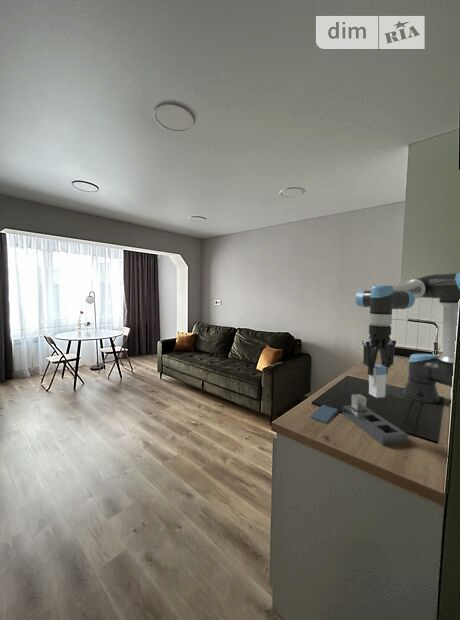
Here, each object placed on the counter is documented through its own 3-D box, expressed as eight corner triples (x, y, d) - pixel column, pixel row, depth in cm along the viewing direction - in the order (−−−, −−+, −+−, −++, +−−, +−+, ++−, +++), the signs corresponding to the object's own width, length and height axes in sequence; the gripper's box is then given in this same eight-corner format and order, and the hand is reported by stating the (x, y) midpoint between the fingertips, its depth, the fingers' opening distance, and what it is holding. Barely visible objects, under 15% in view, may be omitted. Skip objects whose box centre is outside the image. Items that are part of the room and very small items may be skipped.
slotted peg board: (362, 411, 114) (363, 392, 114) (406, 442, 91) (408, 418, 90) (342, 413, 113) (343, 393, 112) (382, 445, 89) (383, 420, 89)
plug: (377, 392, 102) (378, 364, 101) (385, 396, 98) (386, 367, 97) (368, 393, 101) (369, 364, 100) (376, 397, 97) (377, 367, 96)
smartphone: (309, 416, 108) (322, 404, 119) (309, 420, 108) (322, 407, 120) (326, 422, 103) (338, 409, 114) (326, 426, 103) (338, 412, 114)
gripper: (391, 323, 102) (388, 378, 104) (354, 323, 99) (351, 380, 101) (407, 325, 95) (403, 384, 97) (367, 326, 92) (365, 387, 94)
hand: (377, 382), depth 99 cm, fingers closed on plug, 4 cm apart
